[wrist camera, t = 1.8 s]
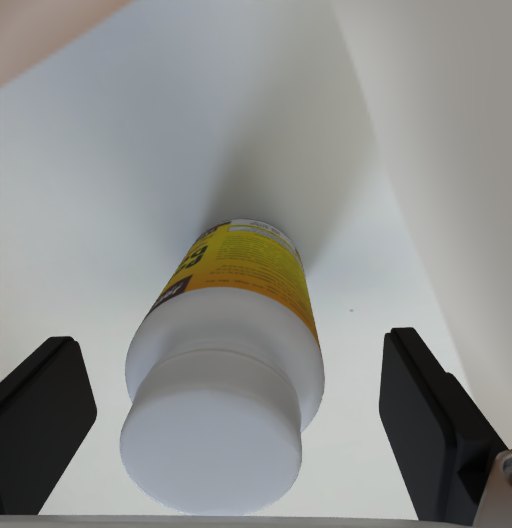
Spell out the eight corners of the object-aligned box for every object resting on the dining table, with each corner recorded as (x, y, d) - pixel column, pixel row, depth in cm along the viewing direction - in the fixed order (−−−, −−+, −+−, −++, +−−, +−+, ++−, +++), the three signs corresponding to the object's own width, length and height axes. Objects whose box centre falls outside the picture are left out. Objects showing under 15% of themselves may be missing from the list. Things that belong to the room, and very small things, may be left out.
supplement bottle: (212, 195, 16) (121, 304, 6) (323, 245, 16) (396, 415, 7) (171, 296, 18) (53, 498, 8) (272, 338, 18) (272, 569, 9)
